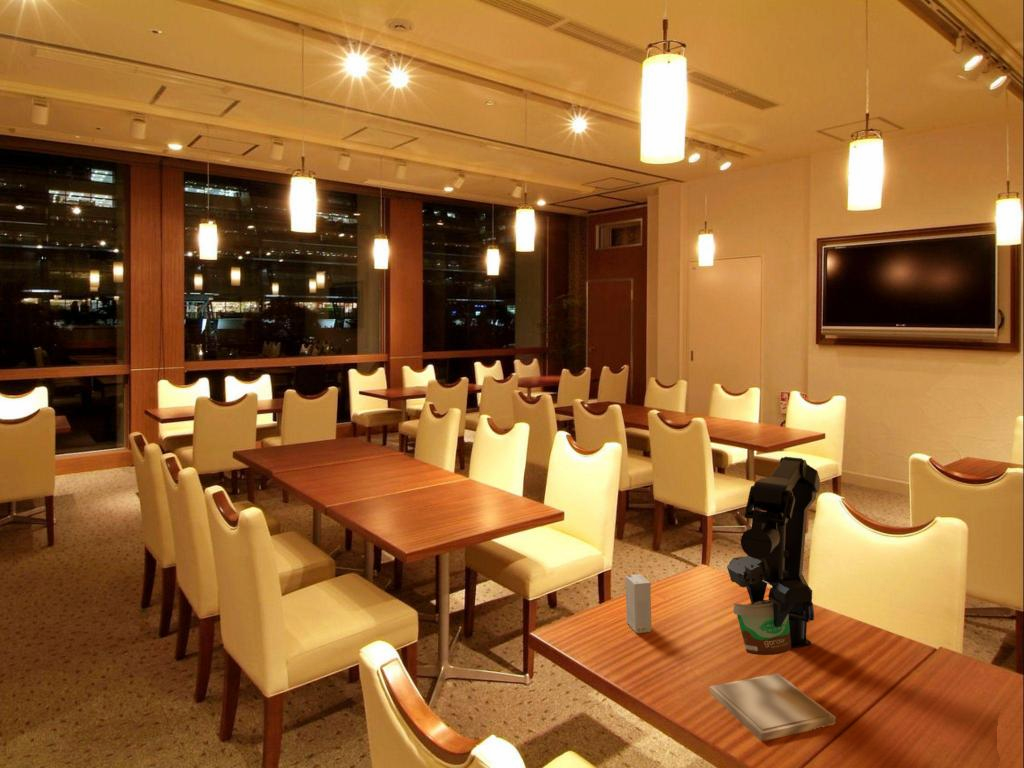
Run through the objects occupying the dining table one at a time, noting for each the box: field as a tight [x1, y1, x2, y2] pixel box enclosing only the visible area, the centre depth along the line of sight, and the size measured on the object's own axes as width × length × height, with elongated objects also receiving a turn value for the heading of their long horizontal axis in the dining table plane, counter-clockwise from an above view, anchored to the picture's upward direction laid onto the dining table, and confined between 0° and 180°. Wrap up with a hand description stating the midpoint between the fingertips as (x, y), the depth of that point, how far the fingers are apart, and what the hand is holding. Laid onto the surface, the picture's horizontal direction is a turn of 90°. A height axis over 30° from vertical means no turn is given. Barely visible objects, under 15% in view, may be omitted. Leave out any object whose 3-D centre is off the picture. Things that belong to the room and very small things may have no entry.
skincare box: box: [625, 573, 652, 634], centre depth 161 cm, size 6×4×12 cm
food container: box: [733, 599, 792, 656], centre depth 135 cm, size 12×6×10 cm, turn 107°
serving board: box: [709, 672, 837, 742], centre depth 128 cm, size 16×16×2 cm
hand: (767, 619), depth 135 cm, fingers closed on food container, 6 cm apart
